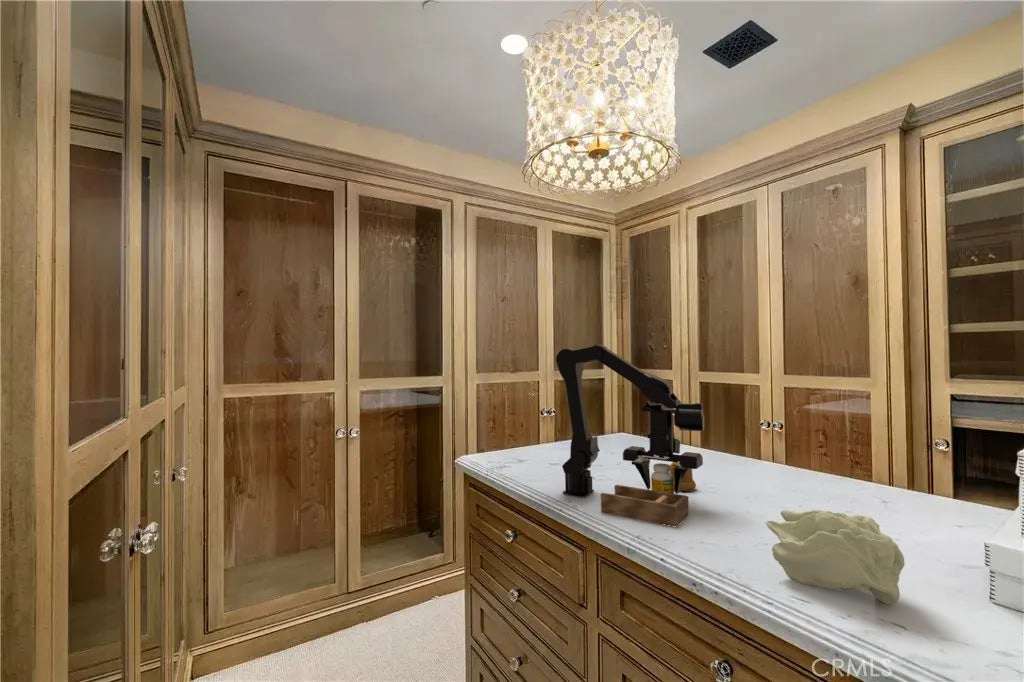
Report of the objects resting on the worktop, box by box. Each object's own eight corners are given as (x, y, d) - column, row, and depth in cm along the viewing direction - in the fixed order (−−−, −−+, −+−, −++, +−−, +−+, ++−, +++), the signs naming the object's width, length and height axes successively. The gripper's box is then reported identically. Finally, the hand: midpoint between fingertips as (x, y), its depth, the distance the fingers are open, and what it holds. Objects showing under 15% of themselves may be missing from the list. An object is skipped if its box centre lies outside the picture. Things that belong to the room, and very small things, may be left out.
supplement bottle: (661, 498, 124) (660, 461, 125) (678, 503, 120) (677, 465, 120) (647, 502, 121) (646, 464, 122) (664, 508, 117) (663, 468, 117)
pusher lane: (601, 512, 115) (600, 493, 115) (616, 502, 122) (616, 484, 122) (676, 527, 104) (675, 506, 104) (688, 515, 112) (688, 495, 112)
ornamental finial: (692, 485, 136) (698, 493, 128) (665, 484, 137) (669, 492, 130) (692, 457, 136) (697, 463, 129) (664, 456, 137) (668, 462, 130)
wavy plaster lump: (797, 620, 80) (745, 529, 84) (842, 582, 85) (791, 499, 90) (903, 630, 64) (833, 518, 69) (949, 583, 70) (882, 482, 74)
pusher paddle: (653, 515, 109) (653, 502, 109) (663, 507, 114) (662, 495, 114) (658, 516, 108) (658, 503, 108) (668, 508, 113) (667, 496, 113)
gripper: (707, 427, 122) (709, 489, 122) (637, 422, 133) (639, 478, 133) (695, 434, 113) (697, 500, 113) (621, 428, 124) (622, 488, 124)
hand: (662, 491), depth 121 cm, fingers open, 7 cm apart
